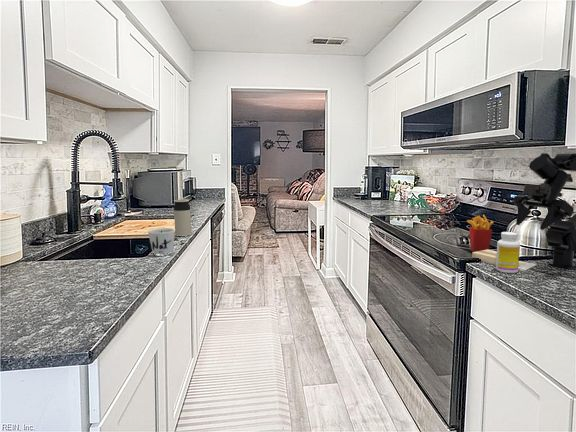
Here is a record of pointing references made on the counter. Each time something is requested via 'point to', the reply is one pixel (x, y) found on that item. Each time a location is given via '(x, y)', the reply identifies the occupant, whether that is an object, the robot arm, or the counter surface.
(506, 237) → the supplement bottle
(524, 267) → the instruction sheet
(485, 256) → the base block
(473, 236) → the french fries
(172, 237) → the mug
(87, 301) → the counter surface
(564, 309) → the counter surface
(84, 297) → the counter surface
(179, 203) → the travel mug
